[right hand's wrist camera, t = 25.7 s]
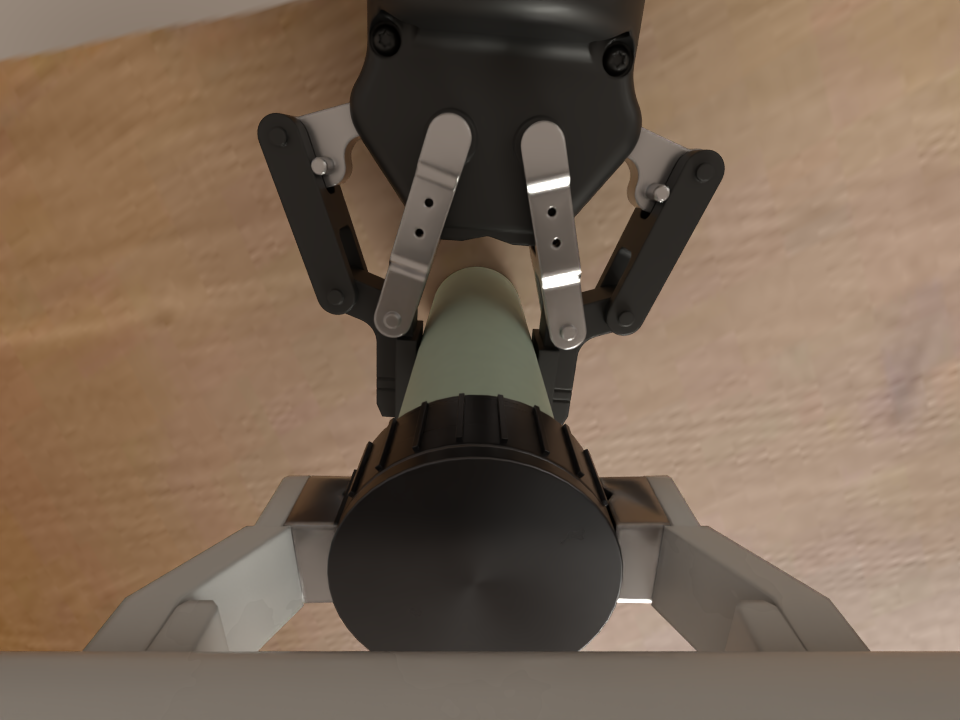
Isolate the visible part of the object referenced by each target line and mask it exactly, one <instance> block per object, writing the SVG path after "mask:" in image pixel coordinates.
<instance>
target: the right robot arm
mask: <svg viewBox="0 0 960 720" xmlns="http://www.w3.org/2000/svg"><path fill="white" fill-rule="evenodd" d="M351 477H352V476H287V477H285V478H283V480H282V481H281V483H280V485H279V486H278V488H277V489H276V491H275V493H274V494H273V496H272V498H271V499H270V501H269V502H268V504H267V506H266V507H265V509H264V511H263V512H262V514H261V515H260V517H259V519H258V520H257V522H256V524H255V525H254V526H246V527H244V528H242V529H241V530H239V531H237V532H236V533H234V534H232V535H231V536H229V537H227V538H226V539H224V540H222V541H221V542H219V543H217V544H215V545H214V546H212V547H210V548H209V549H207V550H205V551H204V552H202V553H200V554H199V555H197V556H195V557H194V558H192V559H190V560H188V561H187V562H185V563H183V564H182V565H180V566H178V567H177V568H175V569H173V570H172V571H170V572H168V573H167V574H165V575H163V576H161V577H160V578H158V579H156V580H155V581H153V582H151V583H150V584H148V585H146V586H145V587H143V588H141V589H140V590H138V591H136V592H134V593H133V594H131V595H129V596H128V597H126V598H125V599H124V600H123V601H122V603H121V604H120V605H119V606H118V607H117V609H116V610H115V611H114V612H113V614H112V615H111V616H110V617H109V619H108V620H107V621H106V622H105V624H104V625H103V626H102V627H101V629H100V630H99V631H98V632H97V634H96V635H95V636H94V637H93V638H92V640H91V641H90V642H89V643H88V645H87V646H86V647H85V648H84V650H83V651H0V720H960V651H870V650H869V649H868V647H867V646H866V645H865V644H864V642H863V641H862V640H861V639H860V637H859V636H858V635H857V633H856V632H855V631H854V630H853V628H852V627H851V626H850V625H849V623H848V622H847V621H846V619H845V618H844V617H843V616H842V614H841V613H840V612H839V611H838V609H837V608H836V607H835V605H834V604H833V603H832V602H831V600H830V599H829V598H827V597H825V596H824V595H822V594H820V593H819V592H817V591H815V590H814V589H812V588H810V587H809V586H807V585H805V584H804V583H802V582H800V581H799V580H797V579H795V578H794V577H792V576H790V575H789V574H787V573H785V572H784V571H782V570H780V569H779V568H777V567H775V566H774V565H772V564H770V563H769V562H767V561H765V560H764V559H762V558H760V557H759V556H757V555H755V554H754V553H752V552H750V551H749V550H747V549H745V548H744V547H742V546H740V545H739V544H737V543H735V542H734V541H732V540H730V539H729V538H727V537H725V536H724V535H722V534H720V533H719V532H717V531H715V530H714V529H712V528H710V527H709V526H700V524H699V522H698V521H697V519H696V517H695V516H694V514H693V513H692V511H691V509H690V508H689V506H688V504H687V503H686V501H685V499H684V498H683V496H682V494H681V493H680V491H679V490H678V488H677V486H676V485H675V483H674V481H673V480H672V478H671V477H669V476H668V475H660V476H643V477H599V479H600V482H601V485H602V487H603V490H604V493H605V495H606V498H607V500H608V504H607V511H608V514H609V517H610V519H611V522H612V525H613V527H614V530H615V533H616V536H617V539H618V541H619V544H620V547H621V553H622V559H623V580H622V586H621V592H620V595H619V598H618V601H617V602H630V603H652V604H651V605H652V606H653V607H654V608H655V609H656V610H657V611H658V612H659V613H660V614H661V615H662V616H663V617H664V618H665V619H666V620H667V621H668V622H669V623H670V624H671V625H672V626H673V627H674V628H675V629H676V630H677V631H678V632H679V633H680V634H681V635H682V636H683V637H684V638H685V639H686V640H687V641H688V642H689V643H690V644H691V645H692V646H693V647H694V648H695V649H696V650H697V651H660V652H512V651H258V650H259V649H260V648H261V647H262V646H263V645H264V644H265V643H266V642H267V641H268V640H269V639H270V638H271V637H272V636H273V635H274V634H275V633H276V632H277V631H278V630H279V629H280V628H281V627H282V626H283V625H284V624H286V623H287V622H288V621H289V620H290V619H291V618H292V617H293V616H294V615H295V614H296V613H297V612H298V611H299V610H300V609H301V608H302V607H303V606H304V605H303V603H324V602H333V601H332V597H331V594H330V590H329V585H328V577H327V564H328V554H329V550H330V546H331V542H332V539H333V536H334V534H335V531H336V529H337V526H338V525H333V523H334V521H335V518H336V515H337V513H338V510H339V508H340V505H341V503H342V500H343V497H344V495H345V492H346V490H347V487H348V485H349V482H350V479H351Z"/></svg>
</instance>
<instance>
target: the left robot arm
mask: <svg viewBox="0 0 960 720" xmlns="http://www.w3.org/2000/svg"><path fill="white" fill-rule="evenodd" d="M644 3H645V0H367V30H368V42H367V53H366V57H365V61H364V65H363V68H362V70H361V73H360V75H359V77H358V79H357V81H356V82H355V84H354V86H353V89H352V92H351V96H350V103H346V104H343V105H339V106H336V107H332V108H328V109H325V110H321V111H317V112H314V113H310V114H306V115H303V116H299V117H295V116H290V115H285V114H280V113H272V114H269V115H267V116H265V117H264V118H263V119H262V120H261V122H260V123H259V126H258V140H259V143H260V146H261V148H262V151H263V154H264V156H265V159H266V162H267V165H268V167H269V170H270V173H271V175H272V178H273V181H274V183H275V186H276V189H277V191H278V194H279V197H280V200H281V202H282V205H283V208H284V210H285V213H286V216H287V218H288V221H289V224H290V227H291V229H292V232H293V235H294V237H295V240H296V243H297V245H298V248H299V251H300V253H301V256H302V259H303V262H304V264H305V267H306V270H307V272H308V275H309V278H310V280H311V283H312V286H313V288H314V291H315V294H316V297H317V299H318V302H319V304H320V305H321V307H322V308H323V309H324V310H326V311H327V312H329V313H331V314H335V315H341V314H345V313H346V314H348V315H351V316H353V317H355V318H358V319H360V320H362V321H364V322H366V323H367V324H368V325H369V326H370V327H371V328H372V329H373V331H374V333H375V335H376V339H377V405H378V408H379V410H380V412H381V415H382V416H385V417H395V419H398V417H399V414H400V410H401V407H402V404H403V400H404V397H405V393H406V390H407V387H408V383H409V380H410V377H411V373H412V370H413V367H414V363H415V360H416V357H417V353H418V350H419V347H420V343H421V340H422V337H423V321H419V320H417V313H418V306H419V303H420V300H421V297H422V294H423V291H424V288H425V285H426V282H427V279H428V276H429V273H430V270H431V267H432V264H433V261H434V258H435V255H436V252H437V249H438V246H439V243H440V240H441V239H443V240H457V241H464V240H469V239H474V238H479V237H484V236H489V237H493V238H495V239H498V240H501V241H504V242H507V243H509V244H512V245H523V246H529V250H530V256H531V261H532V265H533V269H534V274H535V280H536V286H537V292H538V298H539V304H540V310H541V319H540V328H539V329H533V332H532V344H533V347H534V351H535V354H536V358H537V361H538V365H539V368H540V372H541V375H542V378H543V382H544V385H545V389H546V392H547V396H548V399H549V403H550V406H551V410H552V413H553V417H554V419H555V420H556V421H558V422H559V423H560V424H562V425H563V424H564V422H565V420H566V419H567V417H568V413H569V407H570V400H571V394H572V387H573V381H574V375H575V368H576V362H577V356H578V352H579V350H580V348H581V347H582V345H583V344H584V343H585V342H586V341H588V340H589V339H591V338H593V337H596V336H600V335H604V334H608V333H612V332H613V333H615V334H617V335H622V336H626V335H630V334H633V333H634V332H636V331H637V330H638V329H639V328H640V327H641V325H642V324H643V322H644V320H645V318H646V316H647V315H648V313H649V311H650V309H651V307H652V306H653V304H654V302H655V300H656V298H657V296H658V295H659V293H660V291H661V289H662V287H663V286H664V284H665V282H666V280H667V278H668V276H669V275H670V273H671V271H672V269H673V267H674V266H675V264H676V262H677V260H678V258H679V256H680V255H681V253H682V251H683V249H684V247H685V246H686V244H687V242H688V240H689V238H690V237H691V235H692V233H693V231H694V229H695V227H696V226H697V224H698V222H699V220H700V218H701V217H702V215H703V213H704V211H705V209H706V207H707V206H708V204H709V202H710V200H711V198H712V197H713V195H714V193H715V191H716V189H717V187H718V186H719V184H720V182H721V180H722V178H723V175H724V170H725V166H724V162H723V159H722V157H721V156H720V155H719V154H718V153H717V152H715V151H712V150H702V149H687V148H685V147H683V146H681V145H679V144H677V143H674V142H672V141H670V140H668V139H666V138H664V137H662V136H660V135H657V134H655V133H653V132H651V131H649V130H647V129H645V128H642V116H641V111H640V107H639V105H638V102H637V99H636V95H635V90H634V82H633V70H634V62H635V56H636V51H637V45H638V39H639V33H640V27H641V21H642V15H643V9H644ZM359 139H362V141H363V142H364V144H365V145H366V147H367V149H368V150H369V152H370V153H371V155H372V156H373V158H374V159H375V161H376V162H377V164H378V166H379V167H380V169H381V170H382V172H383V173H384V175H385V176H386V178H387V179H388V181H389V183H390V184H391V186H392V187H393V189H394V190H395V192H396V193H397V195H398V196H399V198H400V200H401V201H402V203H403V204H404V206H405V210H404V213H403V216H402V220H401V223H400V226H399V229H398V233H397V236H396V239H395V243H394V246H393V249H392V253H391V256H390V261H389V268H388V271H387V275H386V278H385V279H383V278H381V277H378V276H376V275H374V274H371V273H369V272H368V270H367V267H366V264H365V261H364V258H363V255H362V252H361V249H360V245H359V242H358V239H357V236H356V233H355V230H354V227H353V224H352V221H351V218H350V215H349V212H348V209H347V206H346V203H345V199H344V196H343V193H342V190H341V187H340V184H343V183H344V182H346V181H347V180H348V179H349V178H350V176H351V173H352V160H351V153H352V149H353V146H354V145H355V143H356V142H357V141H358V140H359ZM624 161H625V162H626V163H627V165H628V166H629V169H630V181H629V184H628V187H627V197H628V200H629V201H630V203H631V204H632V205H633V206H634V207H636V208H635V210H634V212H633V214H632V216H631V218H630V220H629V222H628V224H627V226H626V228H625V230H624V232H623V234H622V236H621V238H620V240H619V242H618V244H617V246H616V248H615V250H614V252H613V254H612V256H611V258H610V260H609V262H608V264H607V266H606V268H605V270H604V272H603V274H602V276H601V278H600V280H599V282H598V284H597V286H596V288H595V289H592V290H589V291H585V292H581V285H580V277H581V266H580V258H579V251H578V243H577V236H576V228H575V221H574V217H575V216H576V215H577V214H578V213H579V212H580V210H581V209H582V208H583V207H584V206H585V205H586V204H587V203H588V201H589V200H590V199H591V198H592V197H593V196H594V195H595V194H596V192H597V191H598V190H599V189H600V188H601V187H602V186H603V184H604V183H605V182H606V181H607V180H608V179H609V178H610V177H611V175H612V174H613V173H614V172H615V171H616V170H617V169H618V168H619V166H620V165H621V164H622V163H623V162H624Z"/></svg>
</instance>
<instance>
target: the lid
mask: <svg viewBox="0 0 960 720" xmlns="http://www.w3.org/2000/svg"><path fill="white" fill-rule="evenodd" d="M607 504H608V500H607V498H606V495H605V493H604V490H603V487H602V485H601V482H600V479H599V477H598V474H597V471H596V469H595V466H594V463H593V461H592V458H591V455H590V453H589V451H588V449H586V450H583V448H582V447H581V445H580V444H579V443H578V441H577V440H576V439H575V437H574V436H573V435H572V434H571V432H570V429H569V426H567V425H566V424H564V425H562V424H560V423H559V422H558V421H556V420H555V419H554V418H552V417H551V416H549V415H547V414H546V413H544V412H542V411H540V408H539V406H536V405H534V407H532V406H530V405H527V404H525V403H522V402H519V401H516V400H512V399H508V398H504V397H503V395H500V394H498V396H490V395H465V393H459V396H453V397H448V398H443V399H439V400H435V401H432V402H430V403H428V402H427V401H425V402H422V404H421V406H419V407H417V408H415V409H413V410H411V411H409V412H407V413H405V414H404V415H402V416H401V417H399V418H398V419H395V418H392V419H391V420H390V422H389V425H388V427H387V428H385V429H384V430H383V431H382V432H381V433H380V434H379V436H378V437H377V438H376V439H375V440H374V441H373V443H371V442H370V441H369V442H368V443H367V445H366V448H365V450H364V453H363V456H362V458H361V461H360V463H359V466H358V469H357V470H354V472H353V474H352V477H351V479H350V482H349V485H348V487H347V490H346V492H345V495H344V497H343V500H342V503H341V505H340V508H339V510H338V513H337V515H336V518H335V521H334V523H333V525H338V526H337V529H336V531H335V534H334V536H333V539H332V542H331V546H330V550H329V554H328V564H327V577H328V585H329V590H330V594H331V597H332V601H333V604H334V606H335V608H336V610H337V612H338V614H339V616H340V618H341V619H342V621H343V622H344V624H345V625H346V627H347V628H348V630H349V631H350V632H351V633H352V634H353V635H354V636H355V638H356V639H357V640H358V641H359V642H360V643H361V644H363V645H364V646H365V647H366V648H367V649H368V650H369V651H512V652H579V651H580V650H582V649H583V648H584V647H585V646H586V645H588V644H589V643H590V642H591V641H592V640H593V639H594V638H595V637H596V635H597V634H598V633H599V632H600V631H601V630H602V628H603V627H604V625H605V624H606V623H607V621H608V620H609V618H610V616H611V614H612V612H613V611H614V609H615V607H616V604H617V601H618V598H619V595H620V592H621V586H622V580H623V559H622V553H621V547H620V544H619V541H618V539H617V536H616V533H615V530H614V527H613V525H612V522H611V519H610V517H609V514H608V511H607Z"/></svg>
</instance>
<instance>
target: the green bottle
mask: <svg viewBox="0 0 960 720" xmlns="http://www.w3.org/2000/svg"><path fill="white" fill-rule="evenodd" d="M459 393H465V395H490V396H498V394H500V395H503V397H504V398H508V399H512V400H516V401H519V402H522V403H525V404H527V405H530V406H532V407H534V405H536V406H539V408H540V411H542V412H544V413H546V414H547V415H549V416H551V417H552V418H554V417H553V413H552V410H551V406H550V403H549V399H548V396H547V392H546V389H545V385H544V382H543V378H542V375H541V372H540V368H539V365H538V361H537V358H536V354H535V351H534V347H533V344H532V340H531V337H530V333H529V330H528V327H527V323H526V320H525V316H524V313H523V309H522V306H521V302H520V299H519V296H518V293H517V291H516V289H515V287H514V286H513V285H512V283H511V282H510V281H509V280H508V279H507V278H506V277H505V276H503V275H502V274H500V273H499V272H497V271H495V270H492V269H489V268H484V267H469V268H464V269H461V270H458V271H456V272H455V273H453V274H451V275H450V276H448V277H447V278H446V279H445V280H444V281H443V282H442V284H441V285H440V286H439V288H438V289H437V292H436V294H435V296H434V300H433V303H432V306H431V310H430V313H429V317H428V320H427V323H426V327H425V330H424V333H423V337H422V340H421V343H420V347H419V350H418V353H417V357H416V360H415V363H414V367H413V370H412V373H411V377H410V380H409V383H408V387H407V390H406V393H405V397H404V400H403V404H402V407H401V410H400V414H399V417H401V416H402V415H404V414H405V413H407V412H409V411H411V410H413V409H415V408H417V407H419V406H421V404H422V402H425V401H427V402H428V403H430V402H432V401H435V400H439V399H443V398H448V397H453V396H459ZM399 417H398V418H399Z"/></svg>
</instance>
